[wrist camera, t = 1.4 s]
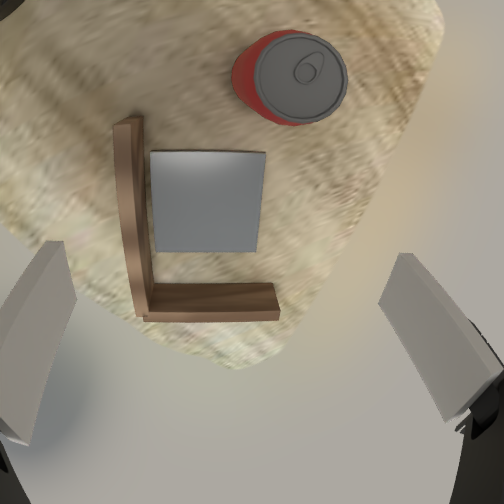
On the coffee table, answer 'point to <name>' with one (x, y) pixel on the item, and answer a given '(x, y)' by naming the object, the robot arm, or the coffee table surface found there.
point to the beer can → (291, 78)
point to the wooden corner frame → (139, 258)
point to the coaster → (206, 200)
